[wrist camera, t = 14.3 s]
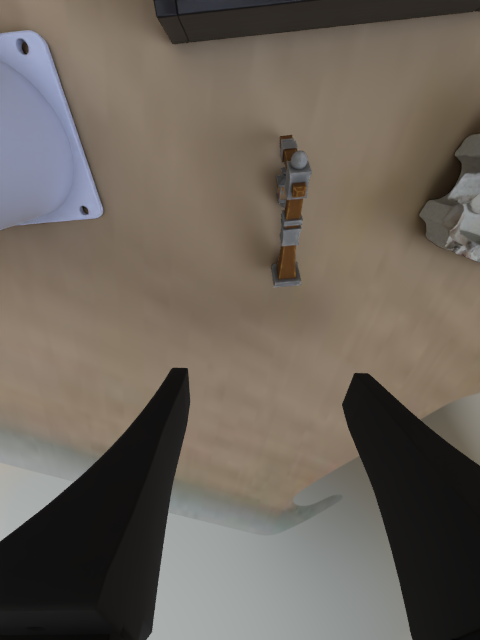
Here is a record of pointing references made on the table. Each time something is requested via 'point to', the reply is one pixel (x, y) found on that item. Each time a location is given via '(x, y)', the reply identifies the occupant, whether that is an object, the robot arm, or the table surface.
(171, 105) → the table surface
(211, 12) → the frame
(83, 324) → the table surface
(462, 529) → the robot arm
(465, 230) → the egg carton
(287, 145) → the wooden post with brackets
